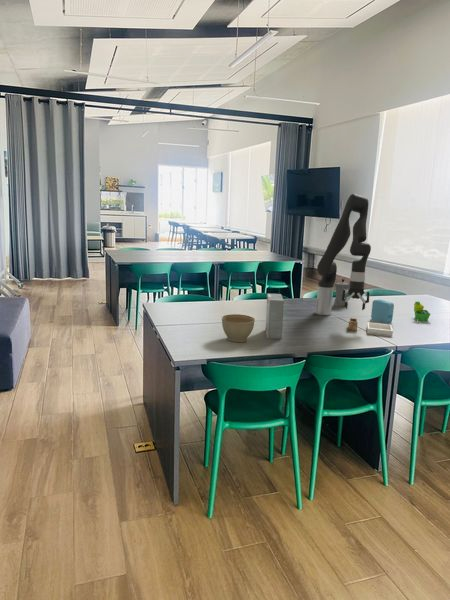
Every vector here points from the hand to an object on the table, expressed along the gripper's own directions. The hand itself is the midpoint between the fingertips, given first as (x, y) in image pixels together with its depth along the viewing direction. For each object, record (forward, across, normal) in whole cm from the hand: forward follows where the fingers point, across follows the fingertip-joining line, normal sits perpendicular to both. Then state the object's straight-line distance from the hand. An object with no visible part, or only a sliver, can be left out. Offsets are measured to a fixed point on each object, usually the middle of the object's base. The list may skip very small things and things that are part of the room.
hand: (354, 309), depth 250 cm
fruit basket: (+11, -39, -39) cm, 56 cm away
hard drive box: (+11, +39, +28) cm, 49 cm away
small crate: (+11, 0, 0) cm, 11 cm away
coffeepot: (+11, +8, -59) cm, 61 cm away
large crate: (+11, -14, 0) cm, 18 cm away
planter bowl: (+11, +54, +44) cm, 71 cm away
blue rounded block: (+11, -16, -25) cm, 32 cm away
